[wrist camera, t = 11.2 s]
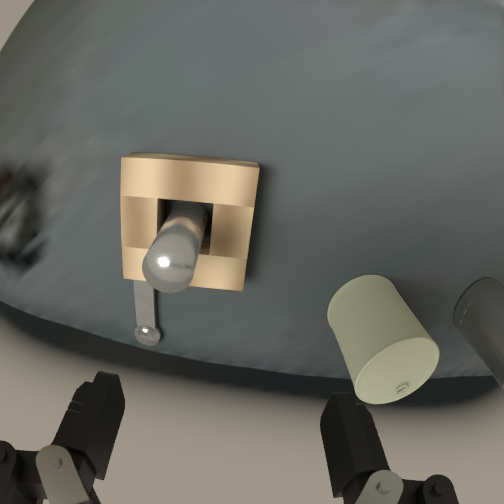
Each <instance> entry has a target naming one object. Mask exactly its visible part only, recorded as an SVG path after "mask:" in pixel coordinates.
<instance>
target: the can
mask: <svg viewBox="0 0 504 504" xmlns="http://www.w3.org/2000/svg"><path fill="white" fill-rule="evenodd" d="M327 317H328V322H329V324H330V326H331V328H332V329H333V331H334V333H335V336H336V338H337V341H338V343H339V346H340V349H341V351H342V354H343V356H344V359H345V362H346V365H347V367H348V370H349V373H350V376H351V379H352V381H353V384H354V389H355V393H356V395H357V396H358V397H359V398H360V399H361V400H362V401H364V402H367V403H371V404H383V403H389V402H393V401H396V400H398V399H400V398H403V397H405V396H407V395H408V394H410V393H412V392H413V391H415V390H416V389H418V388H419V387H420V386H421V385H422V384H423V383H424V382H425V381H426V380H427V379H428V378H429V377H430V376H431V374H432V373H433V371H434V370H435V368H436V366H437V363H438V360H439V348H438V346H437V344H436V343H435V342H434V341H433V340H432V338H431V337H430V336H429V334H428V333H427V332H426V330H425V329H424V328H423V326H422V325H421V324H420V322H419V321H418V319H417V318H416V317H415V315H414V314H413V313H412V311H411V310H410V308H409V307H408V306H407V304H406V303H405V302H404V300H403V299H402V298H401V296H400V295H399V293H398V292H397V290H396V288H395V286H394V285H393V283H392V282H391V281H390V280H388V279H387V278H385V277H383V276H379V275H363V276H360V277H357V278H354V279H352V280H351V281H349V282H347V283H346V284H344V285H343V286H342V287H341V288H340V289H339V290H338V291H337V292H336V293H335V295H334V296H333V298H332V299H331V301H330V304H329V307H328V313H327Z"/></svg>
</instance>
